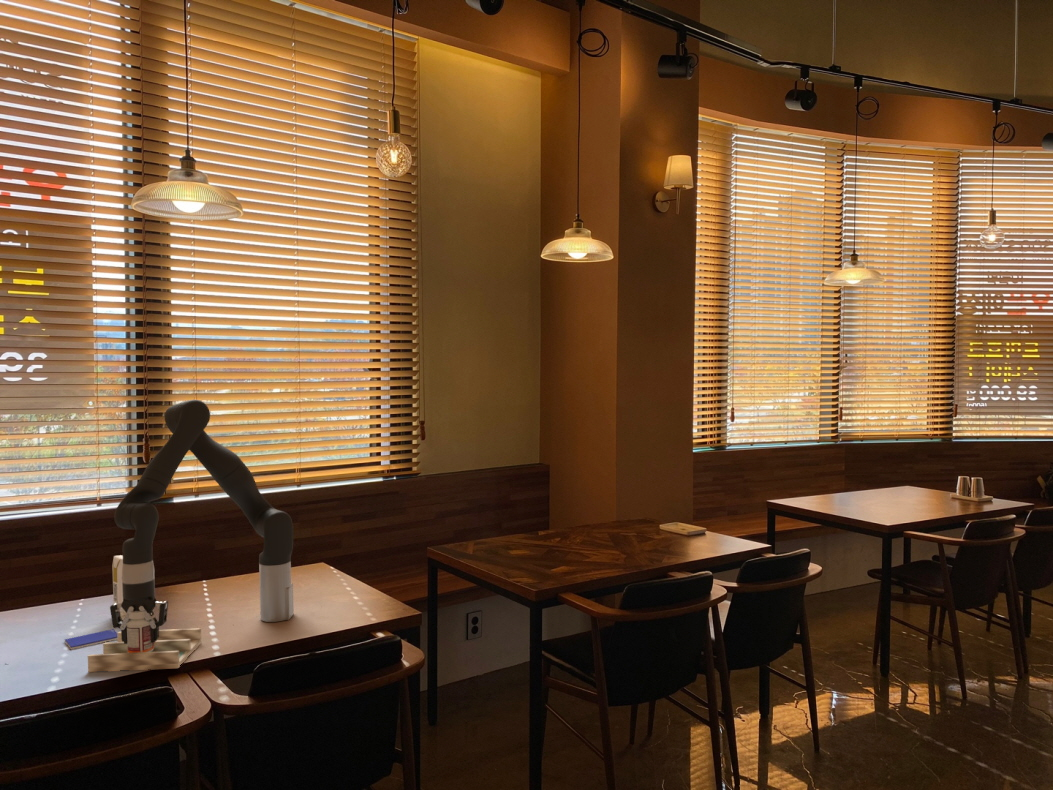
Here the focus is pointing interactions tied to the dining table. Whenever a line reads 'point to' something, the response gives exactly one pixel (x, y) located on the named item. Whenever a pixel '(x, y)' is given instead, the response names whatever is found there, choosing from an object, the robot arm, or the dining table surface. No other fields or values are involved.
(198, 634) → the slot rack
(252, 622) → the dining table surface
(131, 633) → the pill bottle
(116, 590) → the juice carton
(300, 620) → the dining table surface
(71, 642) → the hard drive
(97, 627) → the dining table surface
